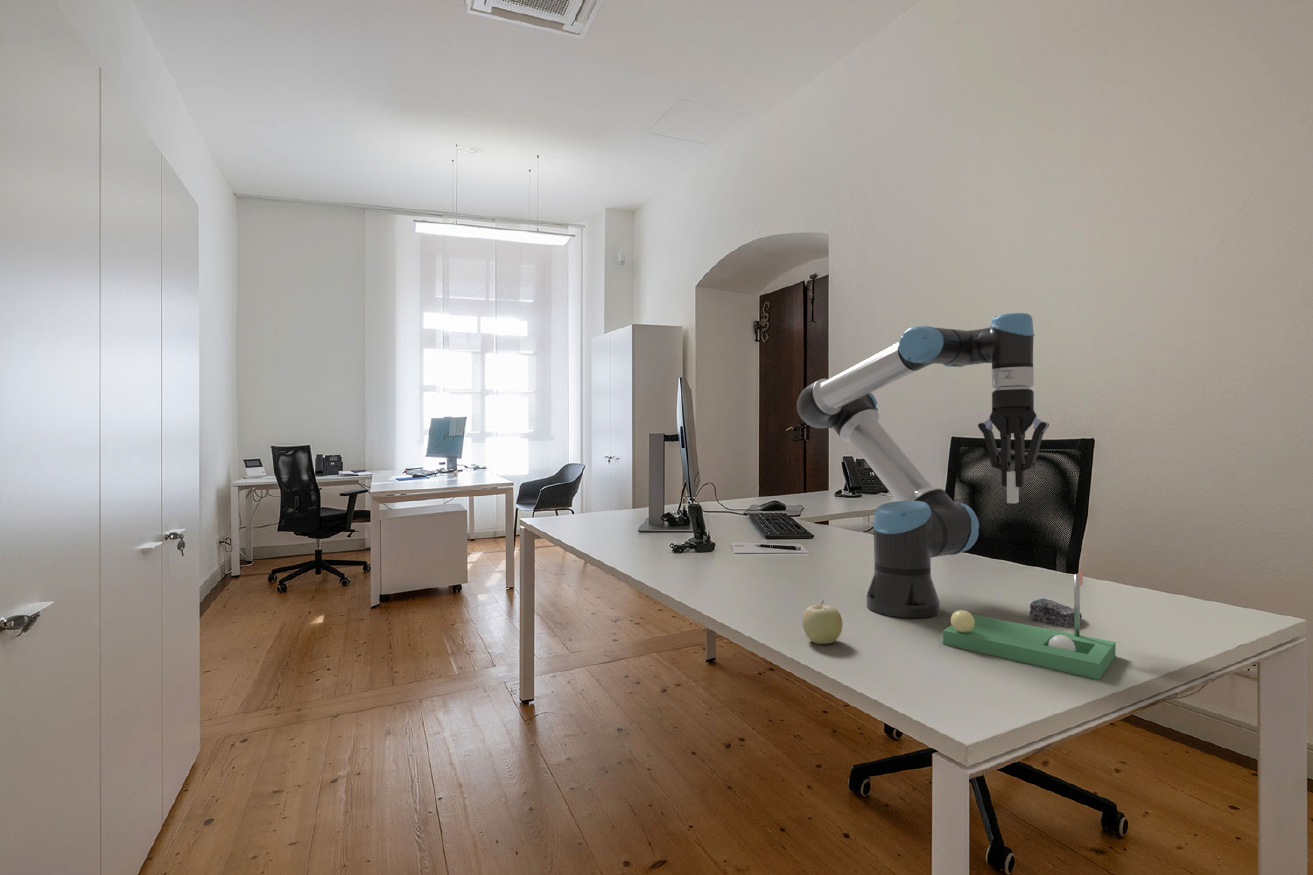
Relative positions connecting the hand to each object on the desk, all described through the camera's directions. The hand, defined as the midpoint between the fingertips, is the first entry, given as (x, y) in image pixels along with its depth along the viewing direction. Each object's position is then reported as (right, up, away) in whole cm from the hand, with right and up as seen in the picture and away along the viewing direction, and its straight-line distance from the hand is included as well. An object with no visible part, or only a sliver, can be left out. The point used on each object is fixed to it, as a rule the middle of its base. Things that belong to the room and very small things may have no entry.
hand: (1012, 502), depth 129 cm
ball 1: (-18, -20, -15) cm, 31 cm away
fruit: (-43, -25, -12) cm, 51 cm away
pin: (+3, -22, -16) cm, 28 cm away
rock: (+9, -25, 0) cm, 26 cm away
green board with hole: (-7, -25, -17) cm, 31 cm away
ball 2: (-4, -23, -22) cm, 32 cm away
